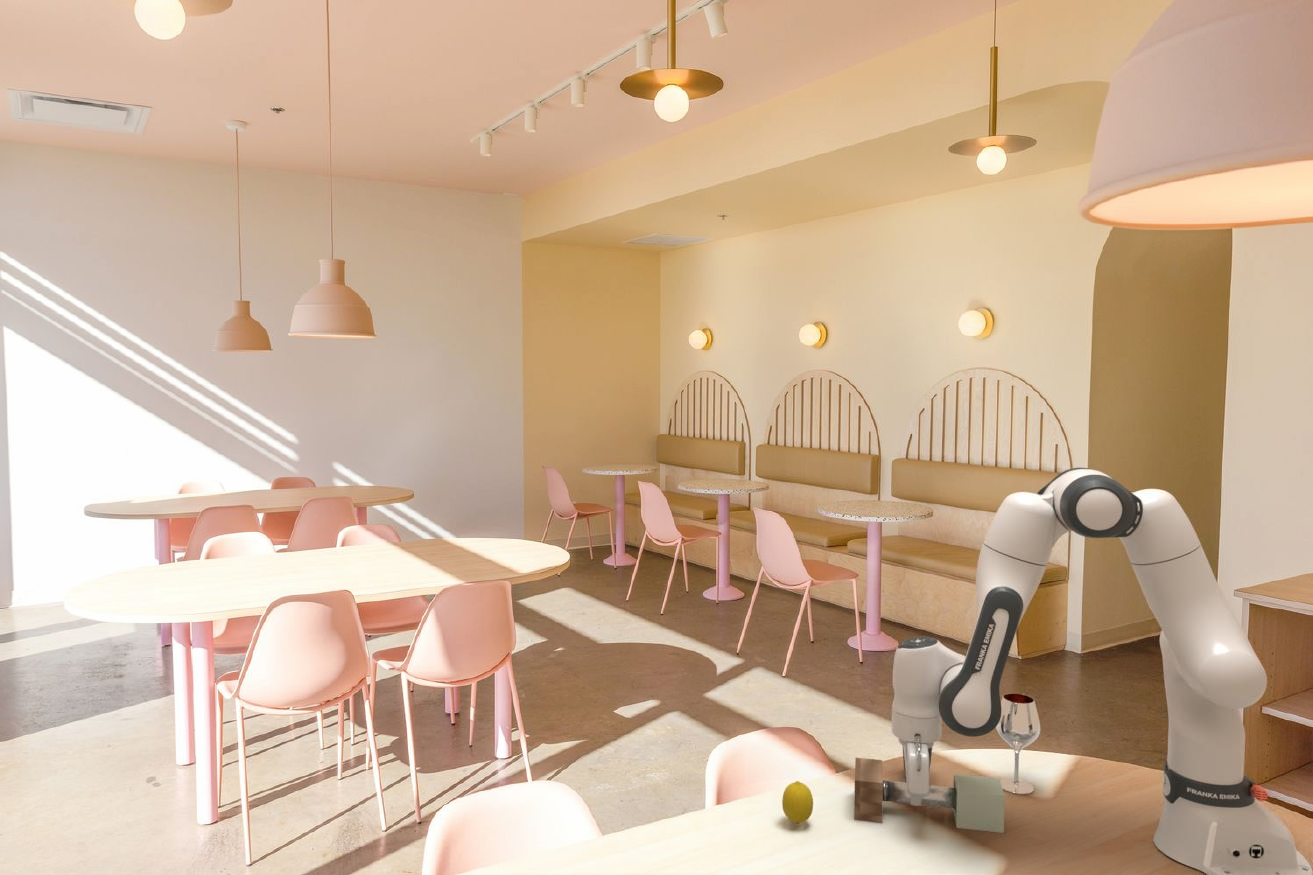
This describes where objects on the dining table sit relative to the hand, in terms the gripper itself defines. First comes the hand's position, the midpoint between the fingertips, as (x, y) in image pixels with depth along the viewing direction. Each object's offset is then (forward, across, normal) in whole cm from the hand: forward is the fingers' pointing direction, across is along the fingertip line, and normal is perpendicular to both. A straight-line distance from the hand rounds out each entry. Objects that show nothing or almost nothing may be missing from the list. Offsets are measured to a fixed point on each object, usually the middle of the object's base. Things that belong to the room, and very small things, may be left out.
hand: (914, 797), depth 163 cm
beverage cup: (+3, +15, -1) cm, 15 cm away
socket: (+3, 0, +8) cm, 9 cm away
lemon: (+3, -9, +21) cm, 23 cm away
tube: (+1, 0, -2) cm, 2 cm away
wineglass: (+3, +16, -20) cm, 26 cm away
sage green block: (+3, 0, -11) cm, 12 cm away
